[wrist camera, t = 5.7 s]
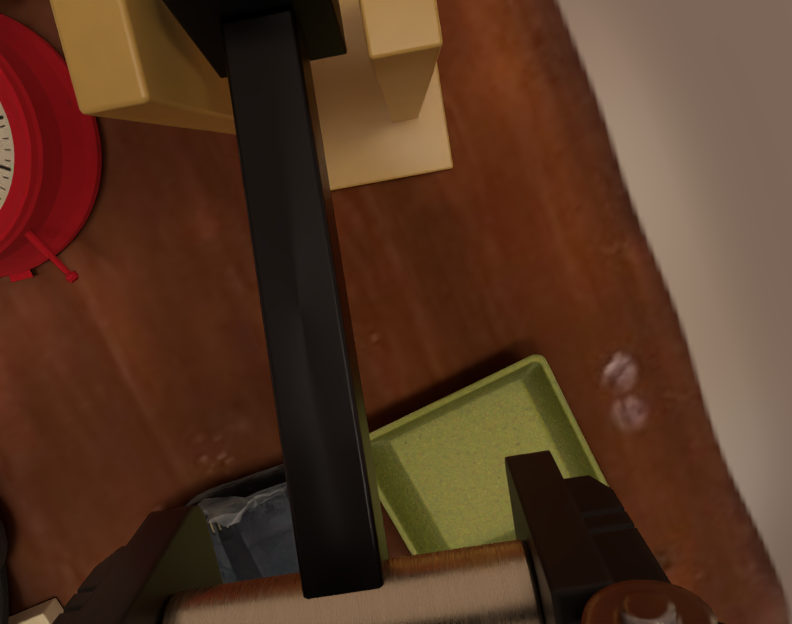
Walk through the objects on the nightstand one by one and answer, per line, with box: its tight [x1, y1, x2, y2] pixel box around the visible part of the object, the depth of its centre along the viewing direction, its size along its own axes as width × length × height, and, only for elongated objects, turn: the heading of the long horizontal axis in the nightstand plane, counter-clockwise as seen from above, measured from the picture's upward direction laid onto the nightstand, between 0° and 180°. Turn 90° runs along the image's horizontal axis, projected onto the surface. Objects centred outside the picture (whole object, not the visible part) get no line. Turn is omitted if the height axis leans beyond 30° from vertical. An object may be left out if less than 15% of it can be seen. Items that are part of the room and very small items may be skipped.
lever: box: [160, 0, 545, 624], centre depth 10 cm, size 12×5×2 cm, turn 10°
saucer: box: [369, 355, 609, 555], centre depth 28 cm, size 9×9×2 cm
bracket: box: [50, 0, 453, 191], centre depth 17 cm, size 8×7×18 cm
